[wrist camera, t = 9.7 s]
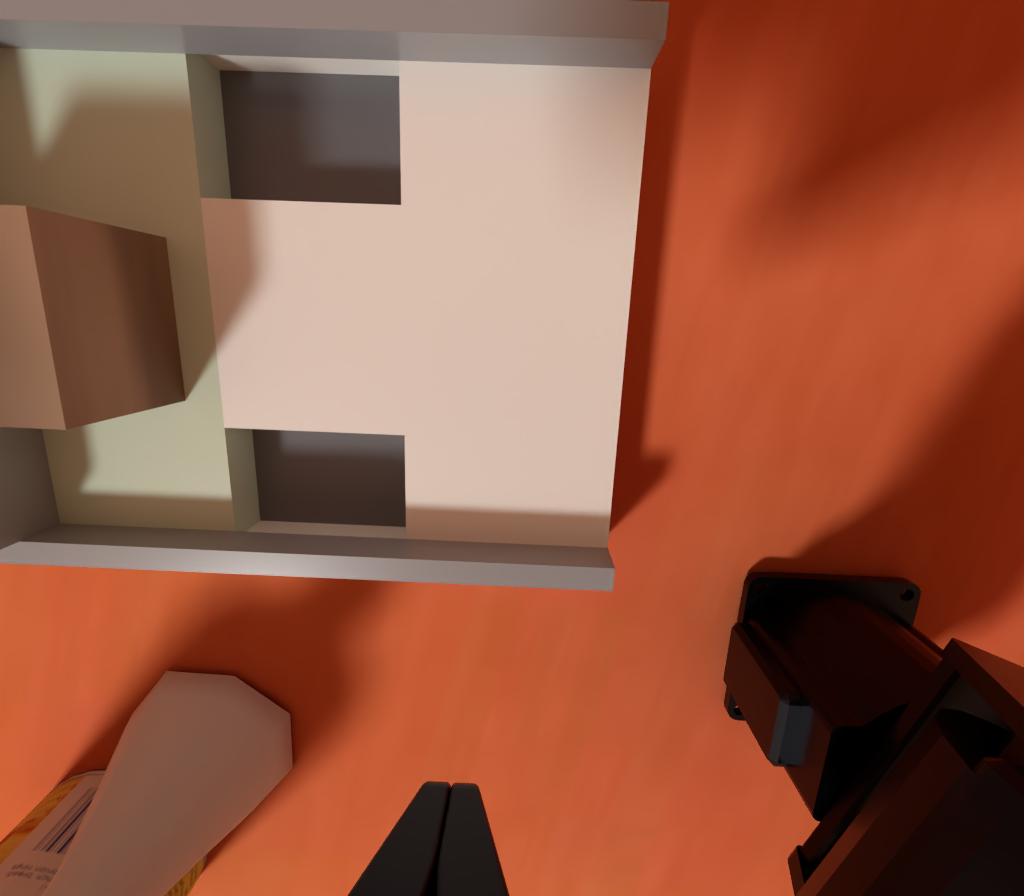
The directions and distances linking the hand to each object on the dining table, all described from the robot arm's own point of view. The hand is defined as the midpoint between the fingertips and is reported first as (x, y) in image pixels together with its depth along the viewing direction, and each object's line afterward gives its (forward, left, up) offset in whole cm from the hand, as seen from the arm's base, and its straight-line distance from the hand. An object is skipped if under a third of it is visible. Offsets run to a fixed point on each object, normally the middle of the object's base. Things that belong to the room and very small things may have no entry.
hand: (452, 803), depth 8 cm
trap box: (+6, -7, -12) cm, 15 cm away
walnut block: (+13, -7, -10) cm, 18 cm away
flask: (+12, +11, -12) cm, 20 cm away
